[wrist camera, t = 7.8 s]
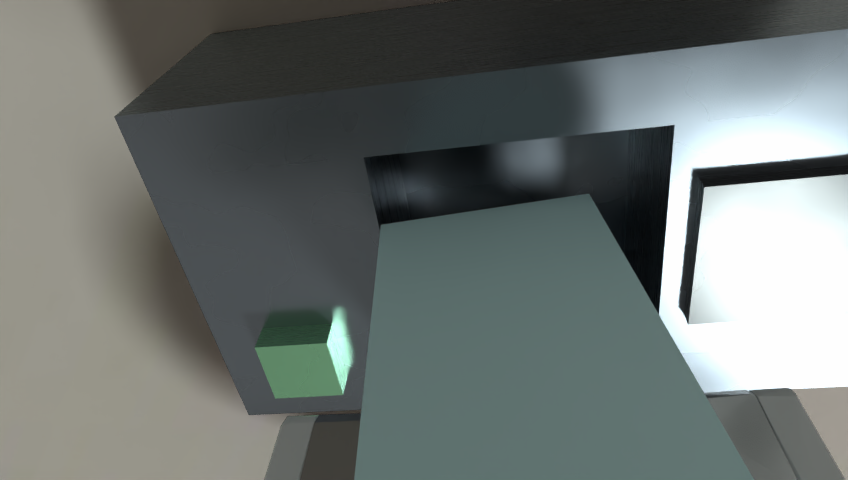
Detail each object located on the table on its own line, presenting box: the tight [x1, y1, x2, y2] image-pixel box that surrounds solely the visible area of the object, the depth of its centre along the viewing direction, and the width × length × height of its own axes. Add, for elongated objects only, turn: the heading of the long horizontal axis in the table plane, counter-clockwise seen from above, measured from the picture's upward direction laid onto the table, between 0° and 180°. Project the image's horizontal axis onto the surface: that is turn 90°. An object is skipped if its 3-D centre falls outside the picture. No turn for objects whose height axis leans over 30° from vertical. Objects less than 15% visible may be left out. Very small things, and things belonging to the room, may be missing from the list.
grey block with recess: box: [115, 0, 848, 415], centre depth 14 cm, size 14×8×6 cm, turn 98°
